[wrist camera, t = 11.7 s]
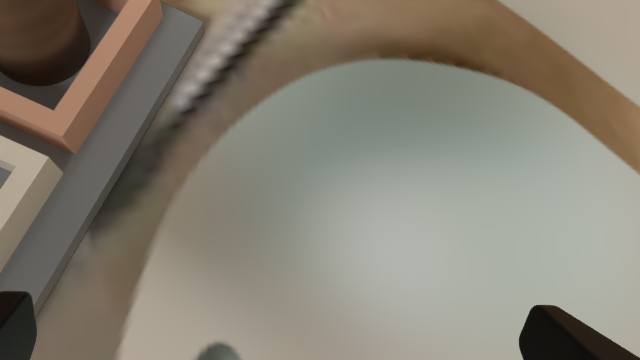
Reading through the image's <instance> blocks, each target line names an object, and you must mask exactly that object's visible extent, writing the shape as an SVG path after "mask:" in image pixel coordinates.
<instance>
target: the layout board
mask: <svg viewBox="0 0 640 360" xmlns="http://www.w3.org/2000/svg"><path fill="white" fill-rule="evenodd" d="M75 1H76V3H77V6H78V8H79V11H80V13H81V16H82V18H83V21H84V23H85V26H86V28H87V31H88V33H89V37H90V43H91V44H90V53H89V56H88V59H87V61H86V62H85V64H84V65H83V67H82V68H81V69H80V70H79V71H78V72H77V73H76V74H75V75H73V76H72V77H70V78H69V79H67V80H65V81H63V82H60V83H57V84H54V85H49V86H30V85H25V84H21V83H18V82H16V81H14V80H12V79H10V78H8V77H7V76H5V75H4V74H3V73H2V72H1V71H0V292H1V291H27V292H28V293H30V294H31V296H32V300H33V307H34V314H35V318H36V317H37V315H38V313H39V311H40V310H41V308H42V306H43V305H44V303H45V301H46V300H47V298H48V296H49V295H50V293H51V291H52V289H53V288H54V286H55V284H56V283H57V281H58V279H59V278H60V276H61V274H62V273H63V271H64V269H65V267H66V266H67V264H68V262H69V261H70V259H71V257H72V256H73V254H74V252H75V251H76V249H77V247H78V245H79V244H80V242H81V240H82V239H83V237H84V235H85V234H86V232H87V230H88V229H89V227H90V225H91V223H92V222H93V220H94V218H95V217H96V215H97V213H98V212H99V210H100V208H101V207H102V205H103V203H104V201H105V200H106V198H107V196H108V195H109V193H110V191H111V190H112V188H113V186H114V185H115V183H116V181H117V179H118V178H119V176H120V174H121V173H122V171H123V169H124V168H125V166H126V164H127V163H128V161H129V159H130V157H131V156H132V154H133V152H134V151H135V149H136V147H137V146H138V144H139V142H140V141H141V139H142V137H143V135H144V134H145V132H146V130H147V129H148V127H149V125H150V124H151V122H152V120H153V119H154V117H155V115H156V113H157V112H158V110H159V108H160V107H161V105H162V103H163V102H164V100H165V98H166V97H167V95H168V93H169V91H170V90H171V88H172V86H173V85H174V83H175V81H176V80H177V78H178V76H179V75H180V73H181V71H182V69H183V68H184V66H185V64H186V63H187V61H188V59H189V58H190V56H191V54H192V53H193V51H194V49H195V47H196V46H197V44H198V42H199V41H200V39H201V37H202V36H203V34H204V24H203V21H201V20H199V19H197V18H195V17H193V16H191V15H188V14H186V13H184V12H182V11H180V10H178V9H176V8H174V7H172V6H169V5H167V4H165V3H163V2H161V1H160V0H75Z"/></svg>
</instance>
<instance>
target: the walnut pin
mask: <svg viewBox="0 0 640 360" xmlns="http://www.w3.org/2000/svg"><path fill="white" fill-rule="evenodd" d="M90 44H91V43H90V37H89V33H88V31H87V28H86V26H85V23H84V21H83V18H82V16H81V13H80V11H79V8H78V6H77V3H76V1H75V0H0V71H1V72H2V73H3V74H4V75H5V76H7V77H8V78H10V79H12V80H14V81H16V82H18V83H21V84H25V85H30V86H49V85H54V84H57V83H60V82H63V81H65V80H67V79H69V78H70V77H72V76H73V75H75V74H76V73H77V72H78V71H79V70H80V69H81V68H82V67H83V65H84V64H85V62H86V61H87V59H88V56H89V53H90Z"/></svg>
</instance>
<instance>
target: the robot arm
mask: <svg viewBox="0 0 640 360" xmlns="http://www.w3.org/2000/svg"><path fill="white" fill-rule="evenodd" d="M36 336H37V328H36V321H35V314H34V307H33V300H32V296H31V294H30V293H28V292H27V291H1V292H0V360H30V358H31V355H32V352H33V348H34V345H35V342H36ZM519 347H520V351H521V354H522V356H523V359H524V360H640V358H639V357H637V356H636V355H634V354H632V353H631V352H629V351H628V350H626V349H624V348H623V347H621V346H620V345H618V344H616V343H615V342H613V341H612V340H610V339H608V338H607V337H605V336H604V335H602V334H600V333H599V332H597V331H596V330H594V329H592V328H591V327H589V326H587V325H586V324H584V323H583V322H581V321H580V320H578V319H576V318H575V317H573V316H572V315H570V314H568V313H567V312H565V311H564V310H562V309H560V308H559V307H557V306H553V305H536V306H534V307H533V308H532V309H531V310H530V312H529V315H528V317H527V319H526V322H525V324H524V327H523V329H522V332H521V334H520V337H519Z"/></svg>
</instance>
